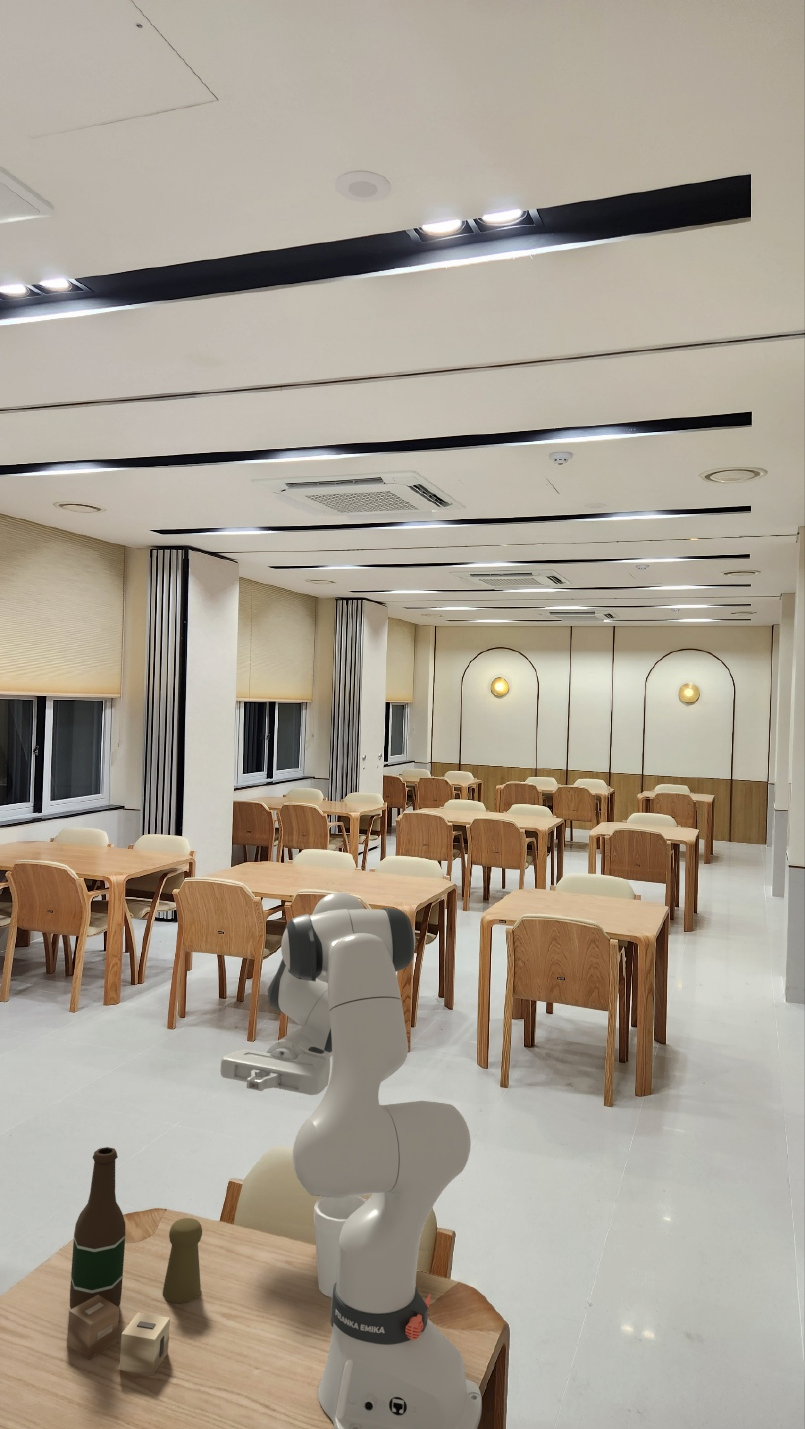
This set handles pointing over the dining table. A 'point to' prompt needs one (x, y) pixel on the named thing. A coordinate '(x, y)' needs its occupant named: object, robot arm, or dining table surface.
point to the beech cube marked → (144, 1343)
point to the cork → (183, 1262)
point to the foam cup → (331, 1235)
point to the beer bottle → (99, 1238)
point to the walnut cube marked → (93, 1326)
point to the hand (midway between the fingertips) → (253, 1085)
